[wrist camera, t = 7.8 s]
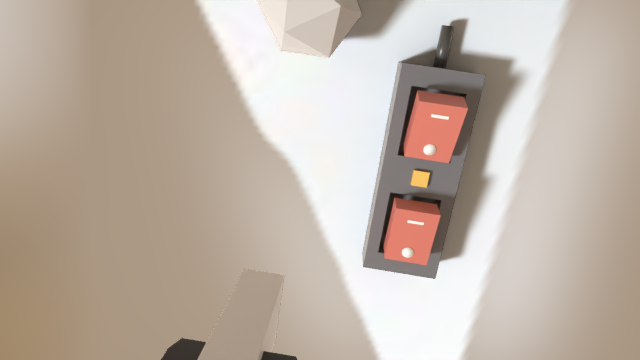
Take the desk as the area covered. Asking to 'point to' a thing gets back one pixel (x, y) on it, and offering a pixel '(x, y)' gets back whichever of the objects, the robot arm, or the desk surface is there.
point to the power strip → (419, 174)
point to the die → (310, 24)
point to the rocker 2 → (411, 231)
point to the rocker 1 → (434, 126)
